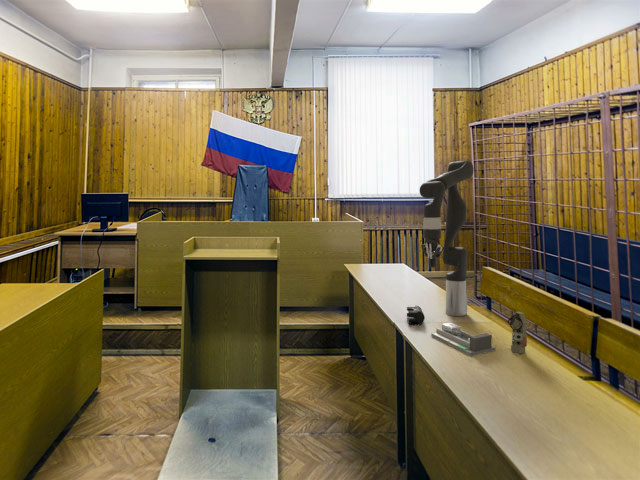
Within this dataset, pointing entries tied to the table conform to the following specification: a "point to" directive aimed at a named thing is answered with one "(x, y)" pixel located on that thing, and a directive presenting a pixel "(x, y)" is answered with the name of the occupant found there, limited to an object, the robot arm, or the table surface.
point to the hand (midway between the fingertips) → (432, 266)
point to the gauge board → (466, 342)
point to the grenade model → (518, 332)
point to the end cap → (415, 315)
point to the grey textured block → (452, 329)
